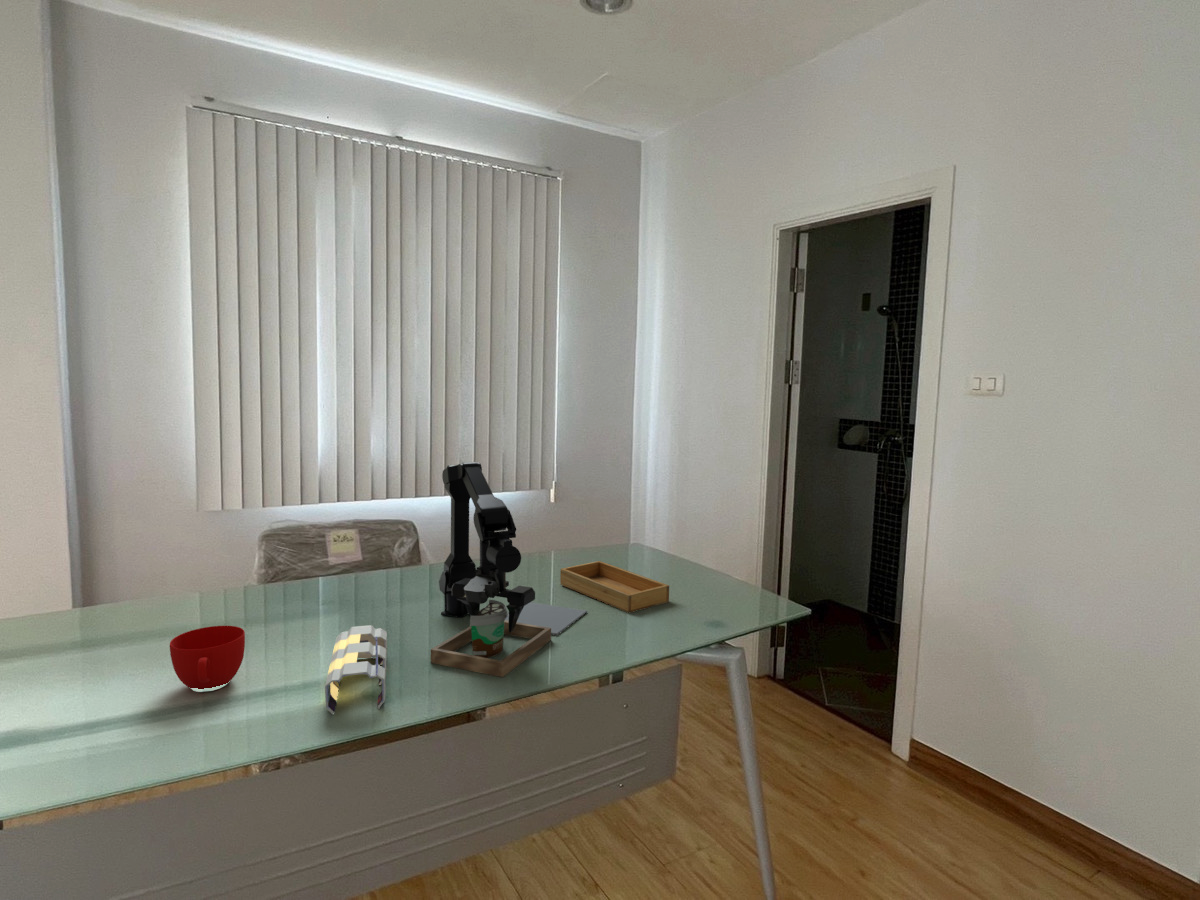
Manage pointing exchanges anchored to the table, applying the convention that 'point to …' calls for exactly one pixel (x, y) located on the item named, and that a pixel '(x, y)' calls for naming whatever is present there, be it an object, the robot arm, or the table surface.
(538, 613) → the slate mat
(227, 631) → the ceramic cup
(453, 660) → the walnut frame
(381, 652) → the jagged striped arch
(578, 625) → the table surface
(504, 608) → the food container
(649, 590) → the tray
